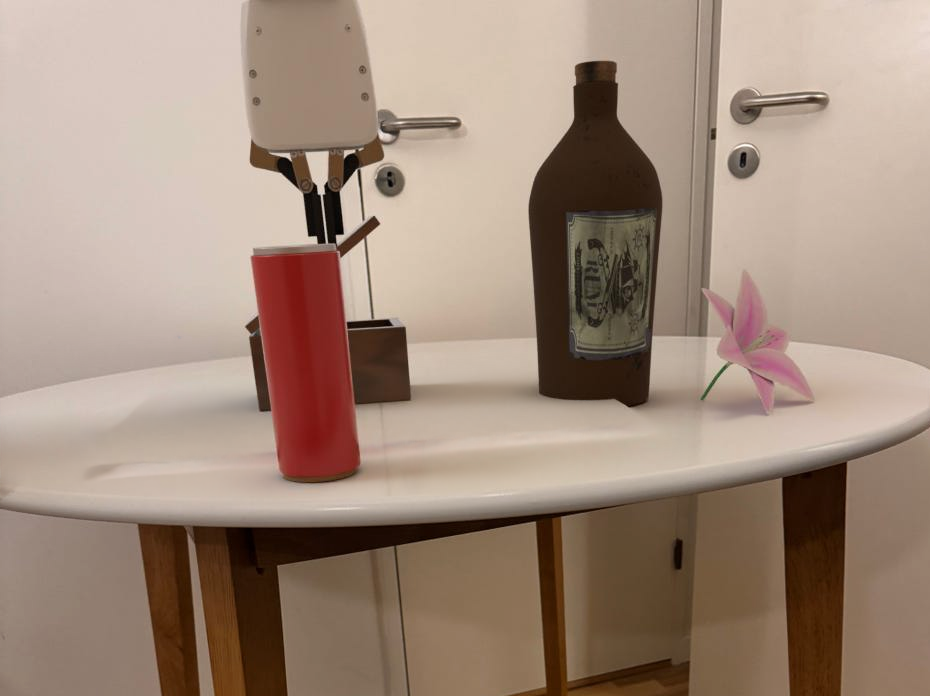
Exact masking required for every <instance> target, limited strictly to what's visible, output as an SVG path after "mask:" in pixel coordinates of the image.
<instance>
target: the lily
mask: <svg viewBox="0 0 930 696" xmlns="http://www.w3.org/2000/svg"><path fill="white" fill-rule="evenodd" d="M701 291H702V293H703V295H704V296H705V298H706V299H707V301H708V302H709V304H710V305H711V306H712V308H713V310H714V311H715V313H716V314H717V316H718V317H719V319H720V321H721V323H722V324H723V325H724V327H725V330H724V333H723V334H722V336H721V338H720V340H719V342H718V344H717V347H716V355H717V356H718V358H720V359H722V360H724V361H725V362H726V363H725V364H724V365H723V367H722V368H721V369H719V371H718V372H717V373H716V375H715V376H713V378H712V380H711V382H710V383H709V385H708V386H707V388H706V389H705V390H704V392H703V394H702V396H701V397H700V400H701V401H705V399H706V397H707V396H708V395H709V392H710V391H711V390H712V388H713V387H714V385H715V384H716V382H717V381H718V380H719V378H720V377H721V376H722V374H723V373H724V372H725V371H726V370H727V369H728V368H729V367H730V366H731V365H733V364H735V365H738V366H740V367H743V368H744V369H746V370H747V371H748V374H749V375H750V378H751V379H752V381H753V383H754V386H755V388H756V391H757V393H758V395H759V397H760V400H761V403H762V405H763V408H764V410H765V412H766V414H767V416H769V415H771V413H772V410H773V407H774V403H775V396H776V387H775V383H776V384H779V385H781V386H784V387H786V388H788V389H790V390H791V391H794V392H795V393H797V394H798V395H800V396H801V397H803V398H805V399H806V400H808V401H809V402H812V403H815V402H816V400H815V396H814V394H813V391H812V388H811V387H810V385H809V383H808V380H807V379H806V378H805V376H804V373H803V372H802V371H801V369H800V367H799V366H798V365H797V364H796V363H795V361H794V359H792V358H791V357H790V356H789V355H787V353H786V351H787V349H788V347H789V344H790V335H789V333H788V332H787V331H785V329H783V328H781V327H779V326H777V325H774V324H772V323H769V320H768V319H769V318H768V311H767V308H766V304H765V302H764V299H763V297H762V295H761V292H760V290H759V288H758V286H757V284H756V282H755V281H754V279H753V278H752V276H751V274H750V273H749V272H748V271H747V270H746V269H742V272H741V276H740V284H739V288H738V293H737V297H736V301H735V305H734V306H733V304H731V302H729V301H728V300H727V299H725V298H724V297H722V296H721V295H719V294H718V293H716V292H714V291H712V290H711V289H708V288H705V287H701Z"/></svg>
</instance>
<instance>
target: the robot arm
mask: <svg viewBox="0 0 930 696" xmlns="http://www.w3.org/2000/svg"><path fill="white" fill-rule="evenodd" d="M240 8H241V9H240V55H241V71H242V82H243V93H244V103H245V112H246V119H247V126H248V129H249V135H250V149H249V164H250V165H251V166H252V167H253V168H255V169H256V170H261V171H266V172H271V173H276V174H279V175H282V176H283V177H284V178H286V180H288V182H290V184H292V185H293V186H294V187H295V188H296V189H297V190H298V191H300V193H301V194H302V197H303V206H304V214H305V215H304V216H305V222H306V230H307V232H306V233H307V237H308V238H310V237H311V238H313V237H315V238H316V244H336V246H337V243H338V242H337V241H338V240H337V236H344V235H345V228H344V227H345V226H344V218H343V217H344V216H343V208H342V199H341V191H342V189H343V188H344V186H345V185H346V184H347V182H348V181H349V180H350V178H352V176H353V175H354V173H355V172H356V171H358V170H361V169H364V168H367V167H371V166H373V165H376V164H379V163H381V162H383V160H384V159H385V151H384V148H383V145H382V142H381V139H380V136H379V116H378V115H379V113H378V104H377V103H378V102H377V96H376V87H375V80H374V72H373V66H372V65H373V64H372V59H371V53H370V48H369V44H368V43H369V42H368V38H367V33H366V26H365V22H364V18H363V13H362V10H361V7H360V3H359V0H245V1H243V2H242V4H241V7H240ZM355 150H357V151H355ZM345 151H354V152H351V153H349V154H347V155H346V156H345ZM323 152H327V153H328V154H327V156H328V157H327V180H326V182H325V183H324V185H323V188H324V193H323V194H322V195H321V194H319V191H318V185H317V184H316V183H315V182H314V181H313V179H312V174H311V170H310V166H309V162H308V159H307V158H308V157H307V154H306V153H323ZM277 154H289V156H290V159H289V158H288V157H286V156H280V155H277ZM323 211H324V212H323ZM324 222H325V223H324ZM325 229H326V230H325Z"/></svg>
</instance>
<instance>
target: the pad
mask: <svg viewBox="0 0 930 696" xmlns="http://www.w3.org/2000/svg"><path fill="white" fill-rule="evenodd" d="M357 471H358V467H357V468H355V469H353V470H351V471H348V472H344V473H340V474H335V475H328V476H318V477H297V476H290V475H286V474H283V473H282V475H283V478H284V479H286V480H287V481H290V482H297V483H321V482H323V483H324V482H330V481H336V480H340V479H344V478H347V477H350V476H353V475H354V474H356V472H357Z"/></svg>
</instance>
